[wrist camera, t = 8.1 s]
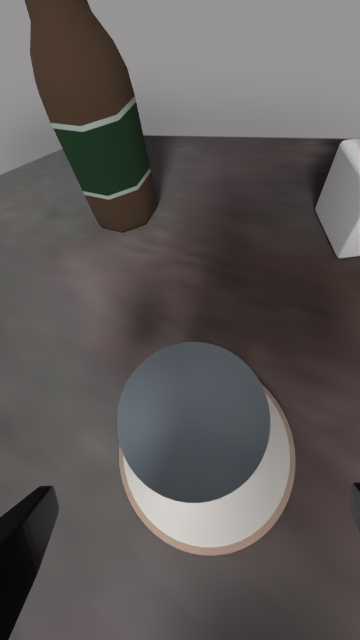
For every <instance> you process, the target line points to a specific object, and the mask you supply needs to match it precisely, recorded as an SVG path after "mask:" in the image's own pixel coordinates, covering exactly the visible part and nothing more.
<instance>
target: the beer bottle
mask: <svg viewBox="0 0 360 640" xmlns="http://www.w3.org/2000/svg"><path fill="white" fill-rule="evenodd" d="M25 3H26V6H27V10H28V13H29V17H30V20H31V41H30V55H31V60H32V66H33V71H34V77H35V81H36V85H37V88H38V91H39V95H40V97H41V99H42V102H43V105H44V107H45V110H46V112H47V115H48V117H49V120H50V122H51V124H52V127H53V129H54V131H55V132H56V135H57V137H58V139H59V141H60V143H61V146H62V148H63V150H64V152H65V154H66V156H67V159H68V161H69V163H70V165H71V167H72V169H73V171H74V173H75V176H76V178H77V180H78V182H79V184H80V186H81V188H82V190H83V193H84V195H85V197H86V199H87V201H88V203H89V205H90V207H91V210H92V212H93V214H94V216H95V217H96V219H97V221H98V223H99V225H100V226H101V227H102V228H106V229H110V230H114V231H119V232H126V231H129V230H131V229H134V228H137V227H140V226H142V225H145V224H146V223H147V222H148V220H149V219H150V217H151V215H152V214H153V212H154V211H155V209H156V207H157V201H156V194H155V189H154V184H153V179H152V175H151V170H150V165H149V161H148V156H147V151H146V146H145V142H144V137H143V132H142V128H141V123H140V119H139V113H138V109H137V104H136V100H135V95H134V91H133V88H132V84H131V81H130V77H129V73H128V70H127V67H126V65H125V63H124V61H123V59H122V57H121V55H120V53H119V51H118V49H117V47H116V45H115V43H114V41H113V40H112V38H111V37H110V36H109V34H108V33H107V32H106V31H105V29H104V28H103V26H102V25H101V24H100V22H99V21H98V20H97V18H96V17H95V16H94V14H93V13H92V12H91V9H90V7H89V4H88V2H87V0H25Z"/></svg>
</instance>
